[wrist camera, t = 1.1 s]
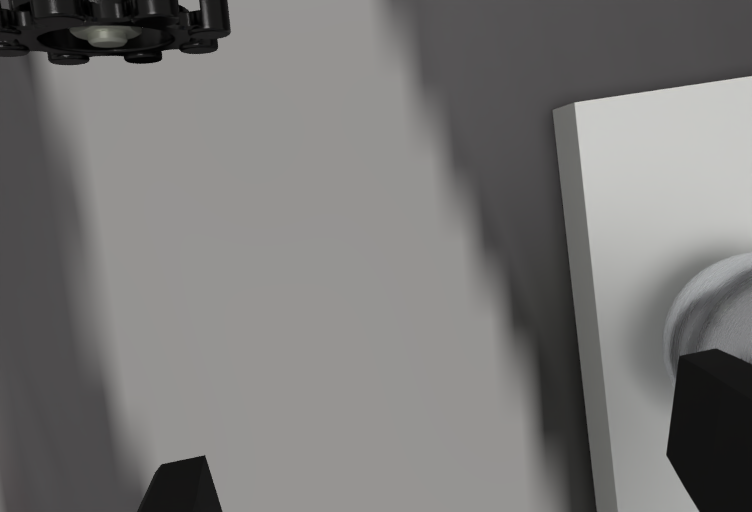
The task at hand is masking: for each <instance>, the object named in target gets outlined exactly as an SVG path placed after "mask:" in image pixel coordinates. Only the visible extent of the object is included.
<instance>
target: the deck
mask: <svg viewBox="0 0 752 512" xmlns="http://www.w3.org/2000/svg"><path fill="white" fill-rule="evenodd" d="M552 111H553V120H554V129H555V138H556V147H557V156H558V165H559V174H560V183H561V192H562V201H563V210H564V220H565V229H566V238H567V247H568V256H569V265H570V274H571V283H572V292H573V301H574V310H575V319H576V328H577V337H578V346H579V355H580V364H581V373H582V382H583V391H584V400H585V409H586V419H587V428H588V437H589V446H590V455H591V464H592V473H593V482H594V491H595V500H596V509H597V512H699V511H698V509H697V507H696V506H695V504H694V502H693V501H692V499H691V497H690V496H689V494H688V493H687V491H686V489H685V488H684V486H683V484H682V482H681V481H680V479H679V477H678V475H677V474H676V472H675V470H674V468H673V466H672V465H671V463H670V461H669V459H668V458H667V456H666V451H667V444H668V436H669V429H670V421H671V413H672V406H673V398H674V391H675V389H674V387H673V385H672V383H671V381H670V379H669V377H668V373H667V370H666V367H665V363H664V358H663V352H662V336H663V328H664V324H665V320H666V317H667V314H668V312H669V309H670V307H671V305H672V303H673V301H674V299H675V298H676V296H677V295H678V293H679V292H680V291H681V289H682V288H683V287H684V286H685V285H686V284H687V283H688V282H689V281H690V280H691V279H692V278H693V277H694V276H695V275H697V274H698V273H699V272H701V271H702V270H704V269H705V268H707V267H708V266H710V265H712V264H714V263H716V262H718V261H721V260H723V259H726V258H728V257H731V256H734V255H739V254H743V253H749V252H752V76H750V77H743V78H736V79H730V80H723V81H716V82H709V83H703V84H696V85H689V86H682V87H676V88H669V89H662V90H656V91H649V92H642V93H635V94H629V95H622V96H615V97H608V98H602V99H595V100H588V101H582V102H575V103H572V104H569V105H566V106H563V107H560V108H557V109H554V110H552Z"/></svg>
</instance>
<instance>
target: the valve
mask: <svg viewBox="0 0 752 512" xmlns="http://www.w3.org/2000/svg"><path fill="white" fill-rule="evenodd" d="M8 1H9V8H10V10H8V9H1V3H0V57H16V56H23V55H27V54H28V53H29V52H30V51H43V52H47V53H48V60H49V61H50V62H51V63H53V64H58V65H79V64H85V63H87V62H88V61H89V57H92V56H124V59H125V61H127V62H129V63H137V64H138V63H139V64H146V63H154V62H159V61H160V60H162V52H161V51H164V50H170V49H180V51H181V52H184V53H189V54H203V53H211V52H214V51H216V50H217V49H218V42H217V39H218V38H223V37H226V36H228V35H229V34H230V32H231V31H230V20H229V11H228V2H227V0H199V2H200V10H198V11H192V12H189V11H188V10H187V9H186V8H185V7H182V6H181V5H178V0H8ZM142 27H143V28H142Z"/></svg>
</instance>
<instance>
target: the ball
mask: <svg viewBox="0 0 752 512" xmlns="http://www.w3.org/2000/svg"><path fill="white" fill-rule="evenodd" d="M714 348H717V349H719V350H721V351H724V352H726V353H728V354H731V355H733V356H735V357H737V358H740V359H742V360H744V361H746V362H748V363H750V364H752V252H749V253H743V254H739V255H734V256H731V257H728V258H726V259H723V260H721V261H718V262H716V263H714V264H712V265H710V266H708V267H707V268H705V269H704V270H702V271H701V272H699V273H698V274H697V275H695V276H694V277H693V278H692V279H691V280H690V281H689V282H688V283H687V284H686V285H685V286H684V287H683V288H682V289H681V291H680V292H679V293H678V295H677V296H676V298H675V299H674V301H673V303H672V305H671V307H670V309H669V312H668V314H667V317H666V320H665V324H664V328H663V336H662V352H663V358H664V363H665V367H666V370H667V373H668V377H669V379H670V381H671V383H672V385H673V387H674V389H675V383H676V375H677V368H678V360H679V356H681V355H686V354H691V353H695V352H700V351H705V350H710V349H714Z"/></svg>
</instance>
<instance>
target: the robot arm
mask: <svg viewBox="0 0 752 512" xmlns="http://www.w3.org/2000/svg"><path fill="white" fill-rule="evenodd" d="M666 456H667V458H668V459H669V461H670V463H671V465H672V466H673V468H674V470H675V472H676V474H677V475H678V477H679V479H680V481H681V482H682V484H683V486H684V488H685V489H686V491H687V493H688V494H689V496H690V497H691V499H692V501H693V502H694V504H695V506H696V507H697V509H698V511H699V512H752V364H750V363H748V362H746V361H744V360H742V359H740V358H737V357H735V356H733V355H731V354H728V353H726V352H724V351H721V350H719V349H717V348H714V349H710V350H705V351H700V352H695V353H691V354H686V355H681V356H679V360H678V368H677V375H676V383H675V391H674V398H673V406H672V413H671V421H670V429H669V436H668V444H667V451H666ZM137 512H222V509H221V506H220V502H219V499H218V496H217V493H216V489H215V486H214V483H213V480H212V476H211V473H210V470H209V467H208V464H207V460H206V457H205V455H204V456H199V457H195V458H190V459H186V460H180V461H176V462H171V463H167V464H162V465H161V466H160V467H159V468H158V470H157V471H156V472H155V474H154V476H153V479H152V481H151V483H150V485H149V487H148V490H147V492H146V494H145V496H144V498H143V500H142V502H141V504H140V507H139V509H138V511H137Z"/></svg>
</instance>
